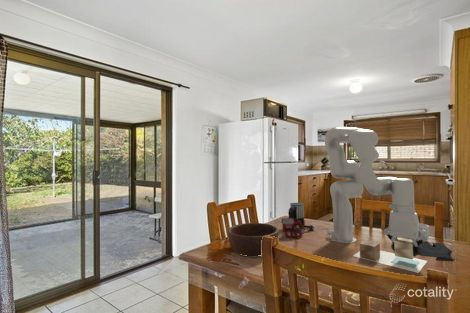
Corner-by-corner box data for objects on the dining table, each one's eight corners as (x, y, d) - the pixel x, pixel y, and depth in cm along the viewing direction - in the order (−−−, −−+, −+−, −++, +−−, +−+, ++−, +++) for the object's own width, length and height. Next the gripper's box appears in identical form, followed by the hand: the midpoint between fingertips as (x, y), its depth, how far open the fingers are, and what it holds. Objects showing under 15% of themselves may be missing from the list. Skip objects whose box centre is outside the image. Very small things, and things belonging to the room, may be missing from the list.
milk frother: (291, 224, 171) (291, 202, 171) (316, 226, 165) (315, 203, 165) (287, 229, 158) (286, 206, 158) (313, 232, 152) (313, 207, 152)
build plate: (352, 258, 112) (352, 255, 112) (365, 249, 122) (365, 246, 122) (418, 275, 94) (418, 272, 94) (427, 263, 104) (427, 260, 104)
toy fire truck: (305, 238, 141) (304, 219, 141) (282, 238, 142) (282, 219, 142) (303, 234, 148) (302, 216, 148) (281, 234, 149) (280, 216, 149)
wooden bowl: (289, 249, 125) (288, 228, 125) (255, 265, 108) (254, 240, 108) (252, 238, 143) (251, 220, 143) (217, 250, 126) (217, 229, 126)
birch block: (394, 255, 104) (394, 240, 104) (399, 251, 108) (398, 237, 108) (412, 259, 99) (411, 244, 99) (416, 255, 103) (415, 240, 103)
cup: (435, 245, 124) (434, 229, 124) (415, 244, 127) (415, 228, 127) (426, 238, 134) (425, 223, 135) (408, 237, 137) (408, 222, 137)
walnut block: (360, 257, 110) (359, 243, 110) (365, 253, 114) (364, 240, 114) (375, 261, 106) (374, 246, 106) (380, 257, 110) (379, 243, 110)
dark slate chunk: (387, 247, 125) (387, 237, 125) (439, 249, 120) (438, 239, 120) (400, 259, 110) (399, 248, 110) (459, 262, 105) (459, 251, 105)
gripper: (377, 207, 108) (378, 250, 107) (427, 213, 95) (429, 261, 95) (383, 205, 113) (384, 246, 112) (431, 210, 100) (433, 256, 100)
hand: (405, 252), depth 104 cm, fingers closed on birch block, 6 cm apart
